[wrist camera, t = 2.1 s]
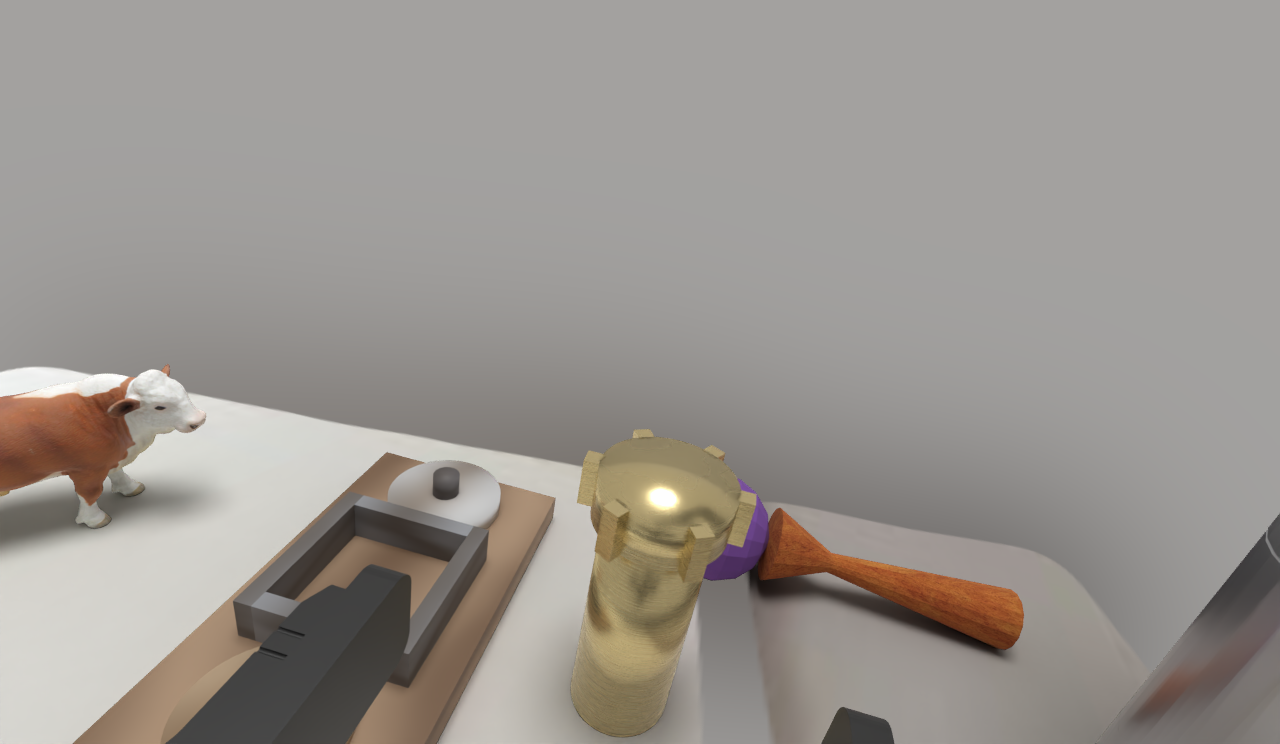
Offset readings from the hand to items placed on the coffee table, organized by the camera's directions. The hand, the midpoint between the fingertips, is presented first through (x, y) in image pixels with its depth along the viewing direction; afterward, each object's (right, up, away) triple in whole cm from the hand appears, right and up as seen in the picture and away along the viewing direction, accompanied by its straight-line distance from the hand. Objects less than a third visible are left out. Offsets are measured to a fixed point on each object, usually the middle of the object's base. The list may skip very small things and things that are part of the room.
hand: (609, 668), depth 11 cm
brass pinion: (0, -9, +17) cm, 19 cm away
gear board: (-12, -6, +18) cm, 23 cm away
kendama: (+11, -8, +25) cm, 28 cm away
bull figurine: (-29, -2, +20) cm, 35 cm away
